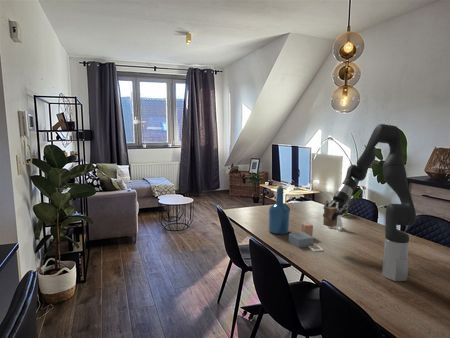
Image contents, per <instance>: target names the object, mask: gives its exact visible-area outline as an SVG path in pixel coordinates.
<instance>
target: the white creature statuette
mask: <svg viewBox="0 0 450 338" xmlns="http://www.w3.org/2000/svg"><path fill="white" fill-rule="evenodd" d="M341 213H342V212H341ZM343 215H344V214H343ZM343 215H342V216H341V215H339V216H337V226H334V227H329V226H327V228H328V229H333V230H337V231H338V232H341V231H342V230H343V227H344V225H343V219H342V217H343Z"/></svg>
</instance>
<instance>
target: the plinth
mask: <svg viewBox="0 0 450 338" xmlns="http://www.w3.org/2000/svg"><path fill="white" fill-rule="evenodd" d="M314 239H315V237H314V236H313V235H312V236H310V235H308V234H306V233H304V232H301V231H299V232H292V233H288V242H289V243H290V244H291V245H294V246H295V247H297V248H298V249H299V248H305V247H306V248H307V247H308V246H314V241H315V240H314Z"/></svg>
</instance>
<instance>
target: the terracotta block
mask: <svg viewBox="0 0 450 338" xmlns="http://www.w3.org/2000/svg"><path fill="white" fill-rule="evenodd" d="M313 230H314V225H313V224H312V223H310V222H301V230H300V232H304V233H306V234H308V235H310V236H312V237H313V234H314V233H313V232H314V231H313Z"/></svg>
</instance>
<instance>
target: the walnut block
mask: <svg viewBox="0 0 450 338" xmlns="http://www.w3.org/2000/svg"><path fill="white" fill-rule="evenodd" d="M323 207H324V206H323ZM336 209H337V208H336V207H332V206H331V207H330V206H328V207H324V209H323V214H324V217H323V223H322V224H323V226H326V227H328V226H329V227H334V226H337V218H336V220H334V221H333V220H332V219H331V218H332V216H333V215H334V213H335V211H336Z"/></svg>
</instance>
